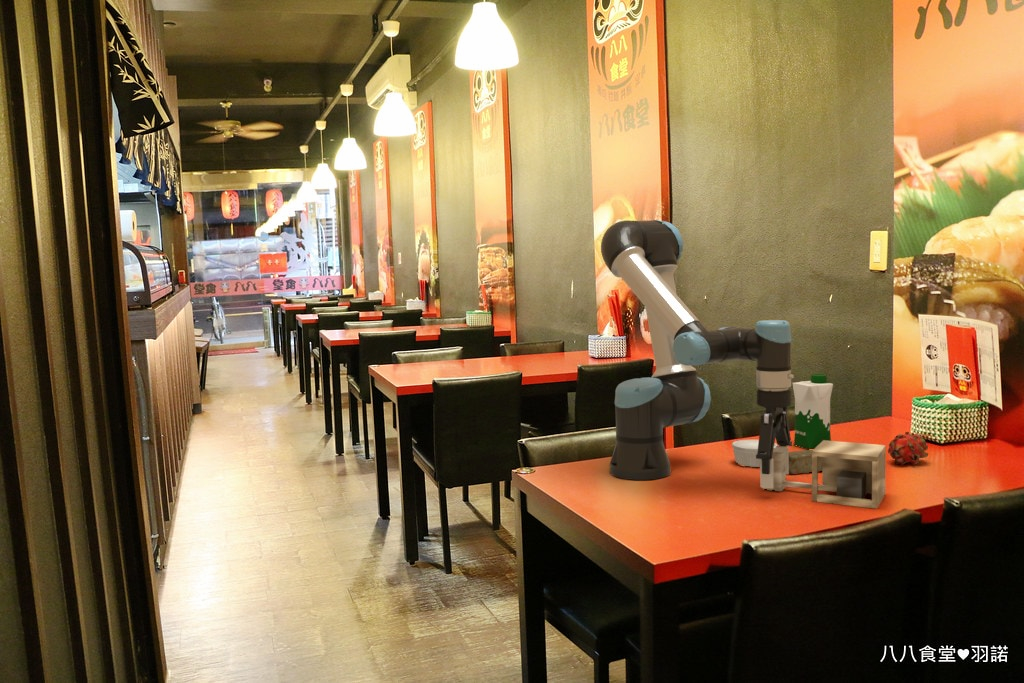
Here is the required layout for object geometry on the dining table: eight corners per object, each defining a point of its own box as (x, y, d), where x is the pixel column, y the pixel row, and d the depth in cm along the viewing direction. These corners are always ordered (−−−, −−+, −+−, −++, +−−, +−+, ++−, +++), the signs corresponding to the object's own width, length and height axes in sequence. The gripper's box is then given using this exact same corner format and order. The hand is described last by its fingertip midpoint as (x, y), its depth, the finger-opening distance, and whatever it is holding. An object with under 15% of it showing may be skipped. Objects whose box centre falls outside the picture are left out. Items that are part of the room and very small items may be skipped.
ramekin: (787, 465, 207) (787, 445, 207) (751, 471, 203) (750, 450, 203) (758, 457, 218) (758, 437, 217) (723, 461, 213) (723, 442, 213)
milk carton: (836, 448, 224) (836, 376, 222) (808, 451, 221) (808, 378, 219) (815, 442, 232) (815, 372, 230) (788, 445, 229) (788, 375, 228)
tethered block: (762, 490, 185) (761, 455, 184) (769, 484, 190) (768, 450, 189) (861, 502, 174) (861, 465, 173) (865, 494, 179) (866, 459, 178)
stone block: (830, 472, 200) (830, 452, 199) (788, 476, 197) (788, 456, 197) (817, 466, 205) (817, 447, 205) (776, 471, 203) (775, 451, 203)
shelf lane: (811, 501, 176) (811, 451, 175) (823, 487, 186) (823, 440, 185) (877, 508, 169) (877, 456, 168) (885, 494, 179) (885, 445, 178)
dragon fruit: (924, 466, 208) (897, 480, 202) (898, 443, 213) (870, 456, 207) (942, 443, 203) (915, 457, 197) (914, 420, 208) (887, 433, 202)
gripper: (776, 397, 172) (777, 495, 173) (803, 381, 193) (804, 469, 194) (741, 395, 176) (742, 492, 177) (771, 380, 197) (772, 466, 198)
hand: (774, 480), depth 186 cm, fingers open, 13 cm apart
